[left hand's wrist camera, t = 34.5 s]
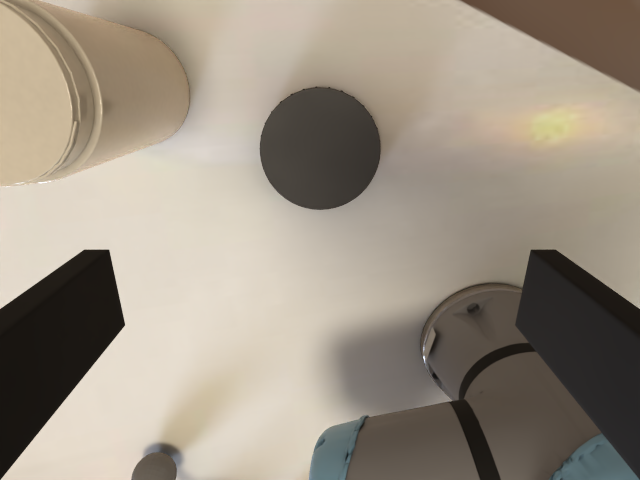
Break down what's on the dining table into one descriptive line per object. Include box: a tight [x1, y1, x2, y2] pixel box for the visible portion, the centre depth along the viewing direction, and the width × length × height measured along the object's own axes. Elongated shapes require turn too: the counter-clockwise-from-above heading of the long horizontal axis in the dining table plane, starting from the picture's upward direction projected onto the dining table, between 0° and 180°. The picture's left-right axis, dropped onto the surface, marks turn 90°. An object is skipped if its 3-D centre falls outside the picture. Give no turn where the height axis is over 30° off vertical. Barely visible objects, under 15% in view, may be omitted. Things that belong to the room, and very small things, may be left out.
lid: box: [260, 87, 380, 210], centre depth 38 cm, size 11×11×2 cm
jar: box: [0, 0, 190, 187], centre depth 29 cm, size 10×10×18 cm
